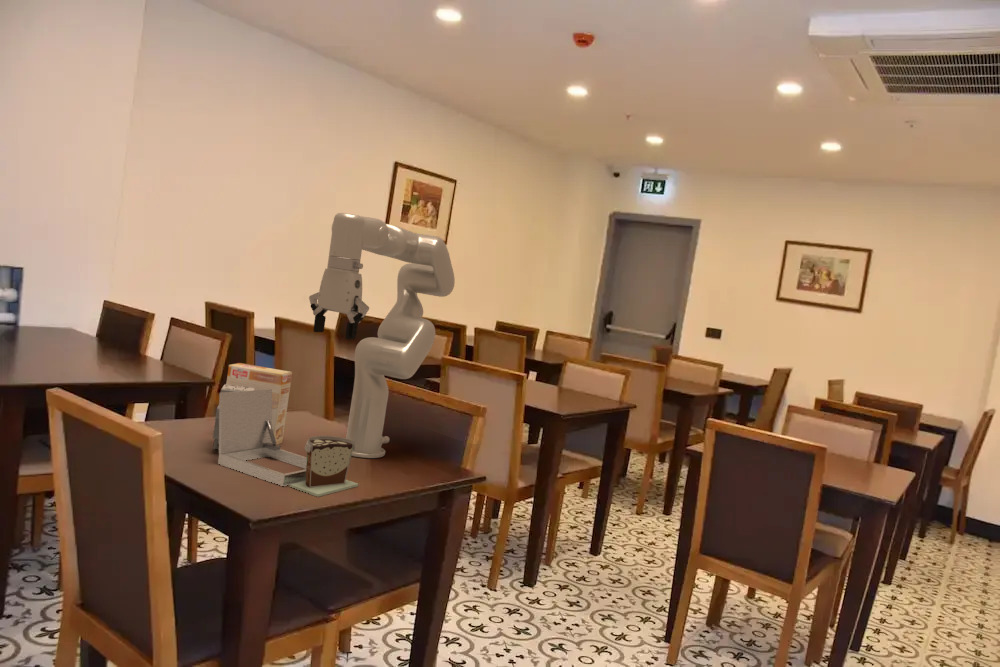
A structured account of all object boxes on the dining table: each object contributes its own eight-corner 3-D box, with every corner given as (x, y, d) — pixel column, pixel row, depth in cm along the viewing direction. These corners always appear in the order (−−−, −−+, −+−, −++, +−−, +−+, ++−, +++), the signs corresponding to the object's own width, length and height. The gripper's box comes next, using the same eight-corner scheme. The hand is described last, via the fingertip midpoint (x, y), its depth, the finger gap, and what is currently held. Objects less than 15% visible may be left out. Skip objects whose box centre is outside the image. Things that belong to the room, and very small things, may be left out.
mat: (331, 477, 177) (331, 474, 177) (358, 486, 173) (358, 483, 173) (289, 487, 164) (289, 484, 164) (317, 496, 161) (318, 494, 161)
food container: (334, 475, 176) (340, 434, 176) (349, 483, 172) (356, 440, 172) (288, 480, 167) (294, 436, 167) (303, 488, 163) (310, 443, 163)
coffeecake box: (283, 442, 202) (293, 371, 201) (272, 447, 195) (282, 374, 194) (230, 432, 204) (240, 362, 202) (217, 437, 196) (228, 364, 195)
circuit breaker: (209, 455, 179) (218, 394, 178) (216, 441, 192) (224, 384, 191) (242, 458, 181) (251, 397, 180) (247, 444, 194) (255, 387, 193)
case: (260, 452, 188) (269, 388, 187) (330, 475, 178) (340, 408, 177) (209, 461, 174) (219, 392, 173) (282, 486, 164) (293, 413, 163)
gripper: (382, 271, 180) (372, 341, 182) (325, 261, 188) (316, 329, 189) (363, 269, 173) (353, 342, 175) (305, 259, 181) (296, 329, 182)
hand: (334, 335), depth 182 cm, fingers open, 9 cm apart
